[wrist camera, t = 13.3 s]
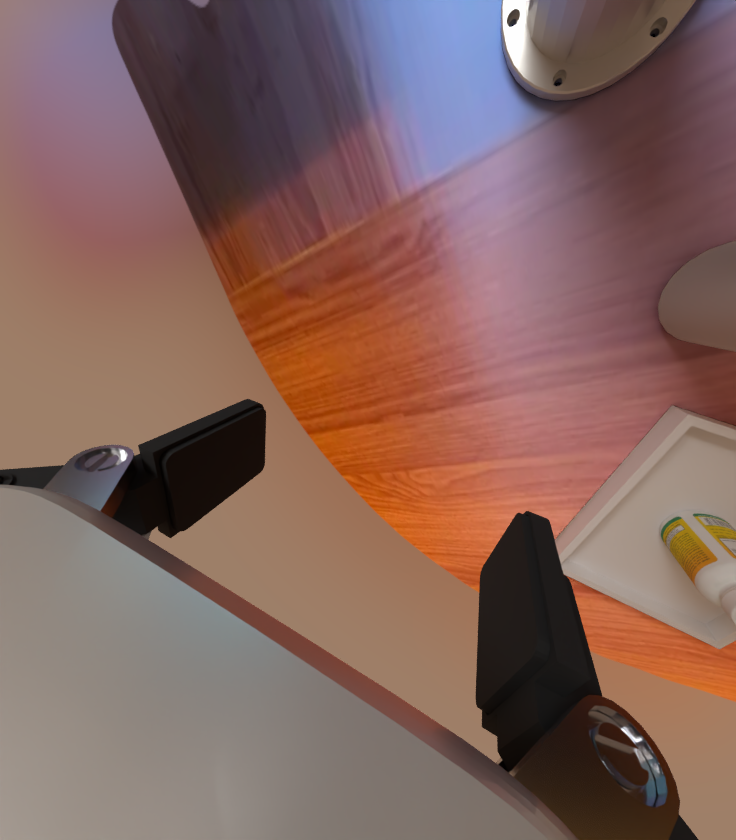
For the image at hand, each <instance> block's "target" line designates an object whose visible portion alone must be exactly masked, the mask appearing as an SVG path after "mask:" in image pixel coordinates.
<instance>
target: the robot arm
mask: <svg viewBox="0 0 736 840" xmlns="http://www.w3.org/2000/svg"><path fill="white" fill-rule="evenodd" d="M695 1H696V0H502V7H501V38H502V47H503V52H504V55H505V58H506V62H507V65H508V68H509V69H510V71H511V73H512V74H513V76H514V78H515V79H516V81H517V82H518V83H519V84H520V85H521V86H522V87H523V88H524V89H525V90H526V91H528V92H530V93H532V94H534V95H536V96H538V97H539V98H544V99H549V100H554V101H559V100H573V99H577V98H580V97H584V96H588V95H591V94H593V93H596V92H598V91H600V90H602V89H604V88H606V87H608V86H610V85H612V84H614V83H615V82H617V81H618V80H620V79H621V78H623V77H624V76H626V75H627V74H629V73H630V72H632V71H633V70H634V69H635V68H636V67H638V66H639V65H640V64H641V63H642V62H643V61H645V60H646V59H647V58H648V57H649V56H650V55H651V54H653V53H654V52H655V51H656V49H657V48H658V47H659V46H660V45H661V44H662V43H663V42H664V41H665V40H666V39H667V38H668V36H669V35H670V34H671V33H672V32H673V31H674V30H675V28H676V27H677V26H678V24H679V23H680V22H681V20H682V19H683V18H684V16H685V15H686V14H687V12H688V11H689V10H690V8H691V7H692V6H693V4H694V3H695ZM512 24H515V25H514V26H513V27H510V26H511V25H512ZM651 34H655V35H656V37H652V36H650V35H651ZM557 82H560V83H561V85H560V86H554V84H555V83H557ZM265 430H266V411H265V410H264V407H263V405H262V404H260V403H257V402H255V401H252V400H250V399H246V400H243V401H241V402H239V403H236V404H234V405H232V406H229V407H227V408H225V409H222V410H220V411H218V412H215V413H213V414H211V415H208V416H206V417H204V418H201V419H199V420H197V421H194V422H192V423H190V424H187V425H185V426H182V427H180V428H178V429H176V430H173V431H171V432H168V433H166V434H164V435H161V436H159V437H157V438H154V439H152V440H150V441H147V442H145V443H143V444H140V445H138V446H139V450H140V454H138V455H136V456H134V453H133V450H132V449H130V448H129V447H126V446H121V445H104V446H99V447H94V448H91V449H88V450H85V451H82V452H80V453H78V454H76V455H75V456H73V457H72V458H71V459H70V460H69V461H68V462H67V463H66V464H65V465H62V466H48V467H34V468H20V469H6V470H0V840H698V839H697V837H696V836H695V835H694V833H693V832H692V831H691V829H690V828H689V827H688V826H687V825H686V823H685V822H684V820H683V819H682V818H681V817H680V815H679V806H680V800H679V795H678V790H677V786H676V782H675V780H674V778H673V775H672V773H671V771H670V768H669V766H668V764H667V762H666V760H665V759H664V757H663V755H662V754H661V752H660V750H659V749H658V747H657V745H656V744H655V742H654V741H653V740H652V739H651V737H650V736H649V735H648V734H647V732H646V731H645V730H644V728H643V727H642V726H641V725H640V724H639V723H638V722H637V721H636V720H635V719H634V718H633V717H632V716H631V715H630V714H629V713H628V712H627V711H626V710H624V709H623V708H622V707H620V706H619V705H617V704H616V703H615V702H613V701H611V700H609V699H607V698H605V697H602V693H601V690H600V686H599V682H598V679H597V675H596V672H595V668H594V664H593V661H592V657H591V654H590V650H589V647H588V643H587V639H586V636H585V632H584V629H583V625H582V622H581V618H580V614H579V611H578V607H577V604H576V600H575V596H574V593H573V589H572V586H571V583H570V581H569V579H568V578H567V577H566V576H565V575H564V574H563V570H562V566H561V563H560V559H559V555H558V551H557V547H556V544H555V540H554V536H553V532H552V528H551V525H550V522H549V520H548V519H546V518H544V517H541V516H539V515H536V514H534V513H531V512H529V511H526V512H525V513H524V514H521V513H517V514H516V516H515V517H514V519H513V520H512V522H511V523H510V525H509V527H508V528H507V530H506V531H505V533H504V534H503V536H502V538H501V539H500V541H499V542H498V544H497V545H496V547H495V548H494V550H493V552H492V553H491V555H490V556H489V558H488V559H487V561H486V563H485V564H484V566H483V568H482V571H481V575H480V593H479V622H478V648H477V676H476V705H477V707H478V708H480V709H481V710H482V727H483V728H484V729H486V730H488V731H489V732H491V733H492V734H494V735H496V736H497V737H498V738H497V739H498V740H497V742H498V753H499V755H500V756H501V758H500V759H499V760H498V761H497V762H496V763H495V762H493V761H492V760H491V759H489V758H488V757H487V756H485V755H484V754H482V753H481V752H480V751H478V750H477V749H476V748H474V747H473V746H471V745H470V744H468V743H467V742H466V741H464V740H463V739H462V738H460V737H458V736H457V735H456V734H454V733H453V732H451V731H449V730H448V729H446V728H445V727H443V726H442V725H440V724H439V723H437V722H436V721H434V720H433V719H431V718H430V717H428V716H427V715H425V714H424V713H422V712H421V711H419V710H417V709H416V708H415V707H413V706H411V705H410V704H408V703H407V702H405V701H404V700H402V699H401V698H399V697H398V696H396V695H395V694H393V693H392V692H390V691H388V690H387V689H385V688H384V687H382V686H381V685H379V684H378V683H376V682H374V681H373V680H371V679H370V678H368V677H367V676H365V675H363V674H362V673H360V672H358V671H357V670H355V669H354V668H352V667H351V666H349V665H348V664H346V663H344V662H343V661H341V660H339V659H338V658H336V657H335V656H333V655H332V654H330V653H329V652H327V651H325V650H324V649H322V648H321V647H319V646H318V645H316V644H314V643H313V642H311V641H310V640H308V639H306V638H305V637H303V636H302V635H300V634H298V633H297V632H295V631H294V630H292V629H291V628H289V627H287V626H286V625H284V624H283V623H281V622H279V621H278V620H276V619H275V618H273V617H271V616H270V615H268V614H266V613H265V612H263V611H262V610H260V609H259V608H257V607H255V606H254V605H252V604H251V603H249V602H247V601H246V600H244V599H243V598H241V597H239V596H238V595H236V594H235V593H233V592H231V591H230V590H228V589H227V588H225V587H223V586H221V585H220V584H219V583H217V582H215V581H214V580H212V579H211V578H209V577H207V576H206V575H204V574H202V573H201V572H199V571H198V570H196V569H194V568H193V567H191V566H190V565H188V564H186V563H185V562H183V561H182V560H180V559H178V558H177V557H175V556H173V555H172V554H170V553H168V552H167V551H165V550H164V549H162V548H160V547H159V546H157V545H156V544H154V543H152V542H151V541H149V540H148V539H149V536H150V533H151V531H152V530H153V529H154V528H155V527H157V526H158V530H159V531H160V532H161V533H163V534H165V535H166V536H168V537H169V538H171V537H173V536H174V535H176V534H177V533H178V532H180V531H184V530H186V529H188V528H189V527H191V526H192V525H193V524H194V523H196V522H197V521H198V520H200V519H201V518H202V517H203V516H204V515H206V514H207V513H209V512H210V511H211V510H212V509H214V508H215V507H216V506H217V505H219V504H220V503H222V502H223V501H224V500H225V499H227V498H228V497H229V496H231V495H232V494H233V493H234V492H236V491H237V490H238V489H239V488H241V487H242V486H244V485H245V484H246V483H247V482H249V481H250V480H251V479H253V478H254V477H255V476H256V475H258V474H259V473H260V472H261V471H262V470H263V468H264V465H265V433H266V431H265Z"/></svg>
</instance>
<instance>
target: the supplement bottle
mask: <svg viewBox="0 0 736 840" xmlns="http://www.w3.org/2000/svg"><path fill="white" fill-rule="evenodd" d="M659 534H660V537H661V539H662V541H663V542H664V543H665V545H666V546H667V548H668V549H669V550H670V552H671V553H672V555H673V556H674V557H675V559H676V560H677V562H678V563H679V564H680V566H681V567H682V569H683V570H684V571H685V573H686V574H687V575H688V577H689V578H690V580H691V581H692V582H693V584H694V585H695V587H696V588H697V589H698V591H699V592H700V593H701V594H702V596H703V597H705V598H706V599H707V600H708V601H710V602H711V603H713V604H714V605H716V606H718V607H720V608H722V609H723V610H724V612H725V613H726V614H727V615H728V616H729V618H730V619H731V620H732V621H733V623H734V624H735V625H736V529H734V528H733V527H732V526H731V525H730V524H729V523H728V522H727V521H726V520H724V519H723V518H721V517H719V516H717V515H715V514H713V513H709V512H705V511H698V510H689V511H682V512H678V513H675V514H673V515H671V516H669V517H668V518H667V519H665V520H664V521H663V522H662V524H661V525H660V528H659Z"/></svg>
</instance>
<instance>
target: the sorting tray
mask: <svg viewBox="0 0 736 840" xmlns="http://www.w3.org/2000/svg"><path fill="white" fill-rule="evenodd" d="M689 510H698V511H705V512H709V513H713V514H715V515H717V516H719V517H721V518H723V519H724V520H726V521H727V522H728V523H729V524H730V525H731V526H732V527H733V528H734V529H736V426H734V425H731V424H728V423H725V422H722V421H719V420H716V419H713V418H710V417H706V416H703V415H700V414H697V413H694V412H691V411H688V410H685V409H682V408H679V407H676V406H673V405H672V406H671V407H670V408H669V409H668V410H667V411H666V413H665V414H664V415H663V416H662V417H661V418H660V420H659V421H658V422H657V423H656V424H655V425H654V426H653V428H652V429H651V430H650V431H649V432H648V433H647V434H646V436H645V437H644V438H643V439H642V440H641V441H640V443H639V444H638V445H637V446H636V447H635V448H634V449H633V451H632V452H631V453H630V454H629V455H628V456H627V457H626V459H625V460H624V461H623V462H622V463H621V464H620V466H619V467H618V468H617V469H616V470H615V471H614V472H613V474H612V475H611V476H610V477H609V478H608V479H607V480H606V482H605V483H604V484H603V485H602V486H601V487H600V489H599V490H598V491H597V492H596V493H595V494H594V495H593V497H592V498H591V499H590V500H589V501H588V502H587V504H586V505H585V506H584V507H583V508H582V509H581V510H580V512H579V513H578V514H577V515H576V516H575V517H574V518H573V520H572V521H571V522H570V523H569V524H568V525H567V527H566V528H565V529H564V530H563V531H562V532H561V533H560V535H559V536H558V537H557V538H556V539H555V544H556V547H557V551H558V555H559V559H560V563H561V566H562V570H563V574H564V575H566V576H569V577H571V578H573V579H575V580H577V581H579V582H581V583H583V584H585V585H587V586H589V587H591V588H593V589H595V590H598V591H600V592H602V593H604V594H606V595H608V596H610V597H612V598H614V599H616V600H618V601H620V602H622V603H624V604H627V605H629V606H631V607H633V608H635V609H637V610H639V611H641V612H643V613H645V614H647V615H649V616H651V617H653V618H656V619H658V620H660V621H662V622H664V623H666V624H668V625H670V626H672V627H674V628H676V629H678V630H680V631H683V632H685V633H687V634H689V635H691V636H693V637H695V638H697V639H699V640H701V641H703V642H705V643H707V644H709V645H712V646H714V647H716V648H718V649H721V648H723V647H725V646H726V645H728V644H730V643H732V642H734V641H735V640H736V625H735V624H734V623H733V621H732V620H731V619H730V618H729V616H728V615H727V614H726V613H725V612H724V610H723V609H722V608H720V607H718V606H716V605H714V604H713V603H711V602H710V601H708V600H707V599H706V598H705V597H703V596H702V594H701V593H700V592H699V591H698V589H697V588H696V587H695V585H694V584H693V582H692V581H691V580H690V578H689V577H688V575H687V574H686V573H685V571H684V570H683V569H682V567H681V566H680V564H679V563H678V562H677V560H676V559H675V557H674V556H673V555H672V553H671V552H670V550H669V549H668V548H667V546H666V545H665V543H664V542H663V541H662V539H661V537H660V534H659V528H660V525H661V524H662V522H663V521H664V520H665V519H667V518H668V517H669V516H671V515H673V514H675V513H678V512H682V511H689Z"/></svg>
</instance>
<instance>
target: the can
mask: <svg viewBox="0 0 736 840" xmlns="http://www.w3.org/2000/svg"><path fill="white" fill-rule="evenodd" d="M658 314H659V321H660V322H661V324H662V326H663V327H664V329H665V330H666V332H668V333H669V334H671V335H672V336H674V337H675V338H677V339H678V340H682V341H686V342H690V343H694V344H699V345H704V346H709V347H714V348H719V349H724V350H729V351H734V352H736V241H732V242H729V243H726V244H723V245H720V246H717V247H714V248H712V249H709V250H707V251H705V252H703V253H702V254H700V255H698V256H697V257H695V258H693V259H692V260H690V261H688V262H687V263H686V264H685V265H684V266H683V267H682V268H681V269H679V270H678V271H677V272H676V273H675V274H674V275H673V276H672V277H671V279H670V280H669V282H668V283H667V285H666V286H665V288H664V289H663V291H662V294H661V297H660V301H659V304H658Z"/></svg>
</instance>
